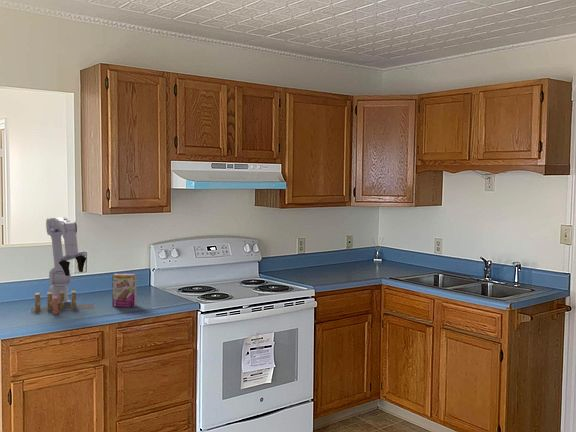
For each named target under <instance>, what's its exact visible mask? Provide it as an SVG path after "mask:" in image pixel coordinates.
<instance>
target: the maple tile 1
mask: <svg viewBox="0 0 576 432" xmlns="http://www.w3.org/2000/svg"><path fill="white" fill-rule="evenodd" d="M34 305H35V306H34V307H35V311H40V307H41V292H35V294H34Z"/></svg>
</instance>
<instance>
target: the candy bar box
mask: <svg viewBox="0 0 576 432" xmlns="http://www.w3.org/2000/svg"><path fill="white" fill-rule="evenodd" d="M111 279H112V281H111V282H112V287H111V289H112V306H111V307H115V308H135V307H136V306H137V274H136V273H114V274H113V275H112V278H111Z"/></svg>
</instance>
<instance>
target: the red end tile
mask: <svg viewBox="0 0 576 432" xmlns="http://www.w3.org/2000/svg"><path fill="white" fill-rule="evenodd" d="M52 306H53V312H52V313H53V315H58V314H59V311H58V306H59V304H58V296H53V303H52Z"/></svg>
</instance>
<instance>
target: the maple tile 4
mask: <svg viewBox="0 0 576 432" xmlns="http://www.w3.org/2000/svg"><path fill="white" fill-rule="evenodd" d="M71 305H72V309H76V305H77V291H76V290H71Z"/></svg>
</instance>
